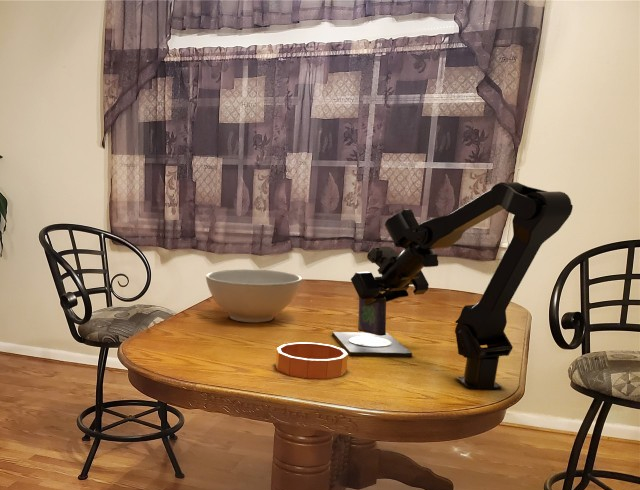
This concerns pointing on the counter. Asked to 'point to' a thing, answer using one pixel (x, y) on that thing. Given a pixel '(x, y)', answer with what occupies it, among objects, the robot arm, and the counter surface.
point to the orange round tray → (311, 360)
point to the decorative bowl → (252, 292)
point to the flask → (372, 317)
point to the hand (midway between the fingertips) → (370, 304)
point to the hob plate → (370, 345)
